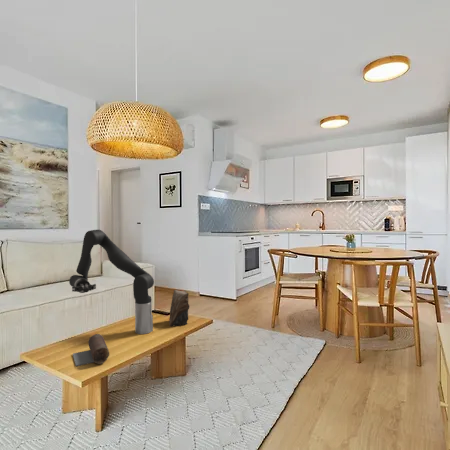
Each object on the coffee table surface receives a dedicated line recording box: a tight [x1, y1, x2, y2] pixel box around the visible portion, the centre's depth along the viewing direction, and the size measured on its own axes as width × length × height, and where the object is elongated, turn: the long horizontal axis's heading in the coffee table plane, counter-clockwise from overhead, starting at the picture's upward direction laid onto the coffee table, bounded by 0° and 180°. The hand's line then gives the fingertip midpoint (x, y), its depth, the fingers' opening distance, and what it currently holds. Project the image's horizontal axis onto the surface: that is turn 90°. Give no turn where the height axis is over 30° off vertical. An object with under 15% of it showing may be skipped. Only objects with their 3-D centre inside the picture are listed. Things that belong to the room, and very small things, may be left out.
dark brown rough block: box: [168, 289, 190, 327], centre depth 194 cm, size 13×13×20 cm
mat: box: [72, 349, 95, 367], centre depth 145 cm, size 11×14×1 cm
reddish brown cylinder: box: [87, 333, 110, 365], centre depth 146 cm, size 8×7×20 cm
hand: (86, 290), depth 166 cm, fingers closed
